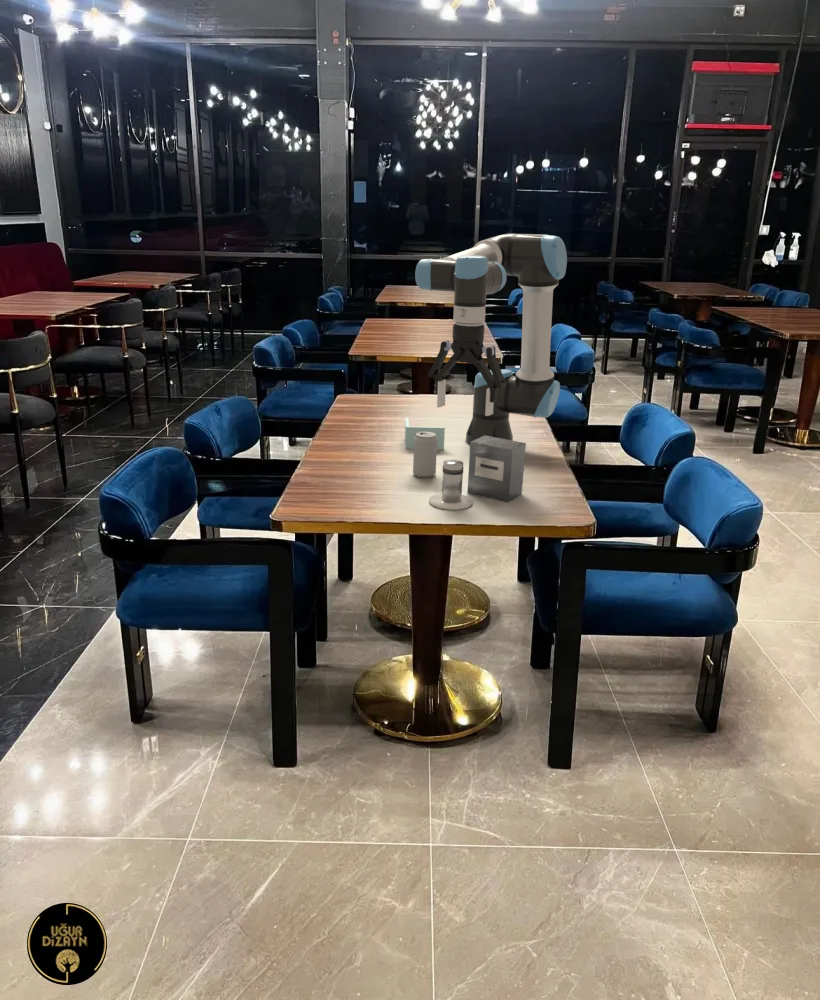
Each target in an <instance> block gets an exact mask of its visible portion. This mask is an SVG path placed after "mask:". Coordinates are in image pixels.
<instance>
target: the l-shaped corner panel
mask: <svg viewBox="0 0 820 1000" xmlns="http://www.w3.org/2000/svg"><path fill="white" fill-rule="evenodd" d="M404 419H405V421H404V445H405V446H404V448H405V449H407V450H409V449H410V450H414V437H415V436H416V433H417V432H423V431H426V432H433V433H435V434H436V437H437V450H445V430H446V428H445V427H444V426H410V418H409V417H405V418H404Z"/></svg>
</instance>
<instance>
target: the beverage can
mask: <svg viewBox="0 0 820 1000" xmlns="http://www.w3.org/2000/svg"><path fill="white" fill-rule="evenodd" d="M437 452H438V449H437V437H436V434H435V433H433V432H426V431H423V432H417V433H416V436H415V437H414V449H413V463H412V464H413V465H412V474H414V475H415V476H416V477H418V478H422V477H423V478H424V479H427V478H433V477H434V476H435V475H436V472H437Z"/></svg>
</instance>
